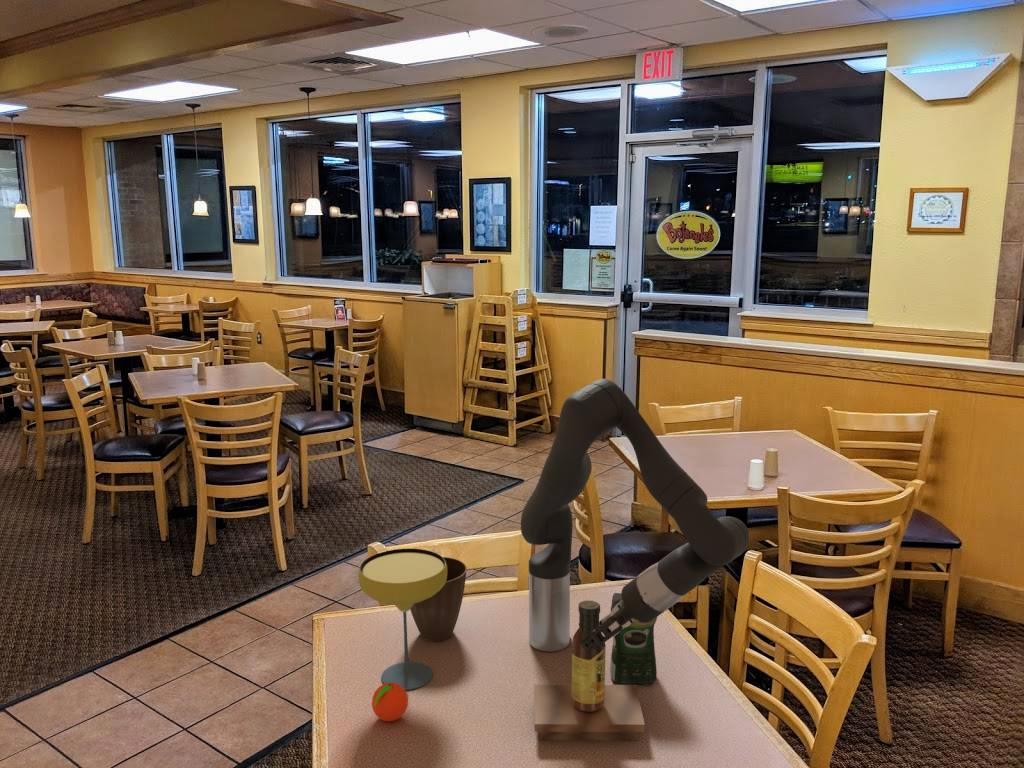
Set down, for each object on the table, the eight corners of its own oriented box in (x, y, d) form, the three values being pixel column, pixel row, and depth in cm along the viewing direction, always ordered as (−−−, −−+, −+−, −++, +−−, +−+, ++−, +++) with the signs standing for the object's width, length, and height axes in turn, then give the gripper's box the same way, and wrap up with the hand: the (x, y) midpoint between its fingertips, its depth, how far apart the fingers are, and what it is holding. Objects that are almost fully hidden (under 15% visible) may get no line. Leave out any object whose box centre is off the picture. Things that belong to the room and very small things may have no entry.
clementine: (389, 736, 150) (387, 701, 149) (361, 724, 154) (359, 690, 153) (416, 714, 157) (414, 681, 156) (388, 703, 161) (387, 671, 159)
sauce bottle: (602, 715, 149) (604, 614, 146) (569, 711, 150) (570, 611, 147) (605, 696, 155) (607, 599, 152) (573, 693, 157) (574, 596, 153)
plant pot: (407, 654, 179) (404, 586, 176) (400, 622, 194) (398, 560, 191) (473, 645, 183) (472, 579, 180) (462, 615, 197) (460, 553, 194)
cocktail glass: (379, 710, 159) (374, 591, 154) (352, 667, 174) (347, 558, 170) (463, 685, 167) (461, 572, 162) (431, 646, 182) (427, 542, 178)
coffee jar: (653, 667, 173) (655, 586, 169) (658, 688, 165) (661, 603, 162) (607, 667, 173) (608, 586, 170) (611, 688, 165) (612, 603, 162)
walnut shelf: (534, 743, 148) (534, 724, 147) (534, 702, 160) (534, 684, 160) (644, 744, 147) (644, 724, 146) (635, 703, 160) (635, 684, 159)
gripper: (653, 559, 149) (595, 604, 157) (624, 589, 137) (563, 636, 144) (680, 592, 147) (621, 636, 155) (654, 625, 135) (590, 671, 143)
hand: (593, 636), depth 150 cm, fingers open, 8 cm apart
